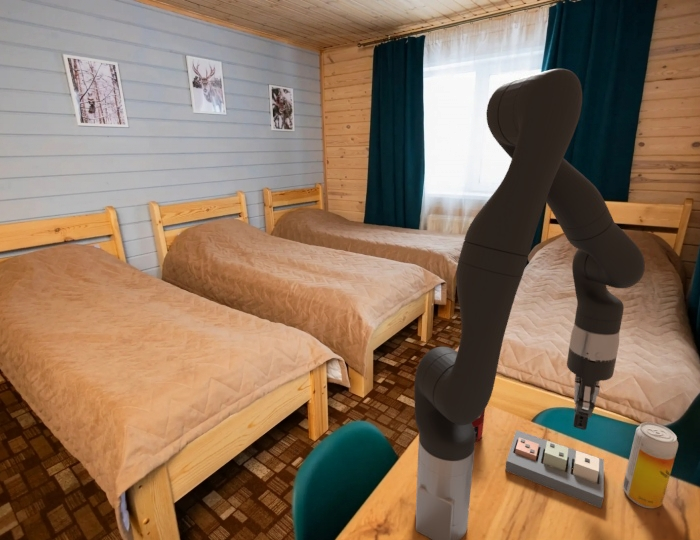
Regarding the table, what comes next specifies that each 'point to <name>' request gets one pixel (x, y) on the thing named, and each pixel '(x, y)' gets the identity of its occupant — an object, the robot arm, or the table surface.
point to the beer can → (650, 464)
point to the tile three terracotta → (527, 449)
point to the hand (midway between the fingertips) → (579, 426)
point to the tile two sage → (555, 456)
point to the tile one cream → (586, 466)
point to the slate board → (555, 472)
